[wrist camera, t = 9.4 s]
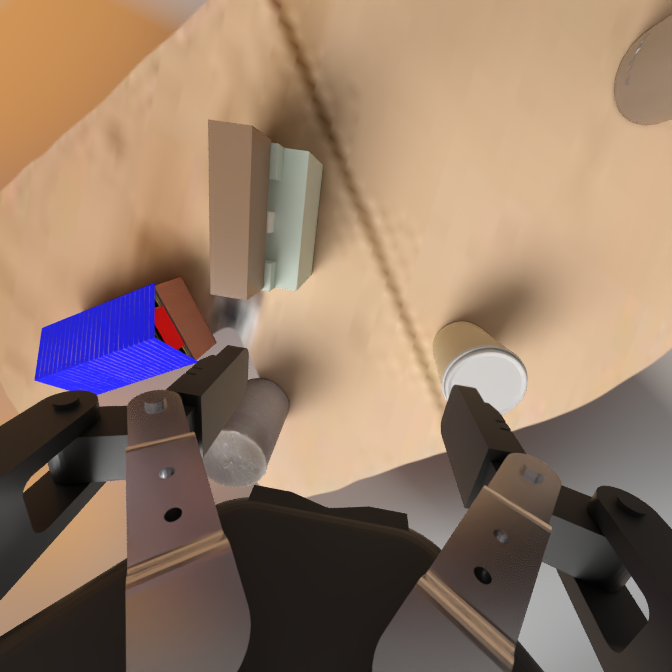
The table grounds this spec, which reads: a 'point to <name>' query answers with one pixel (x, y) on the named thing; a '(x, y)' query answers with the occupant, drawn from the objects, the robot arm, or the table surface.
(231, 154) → the long beige cuboid
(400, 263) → the table surface
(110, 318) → the house
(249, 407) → the pillar candle
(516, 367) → the coffee cup
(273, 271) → the stand
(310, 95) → the table surface
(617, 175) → the table surface
